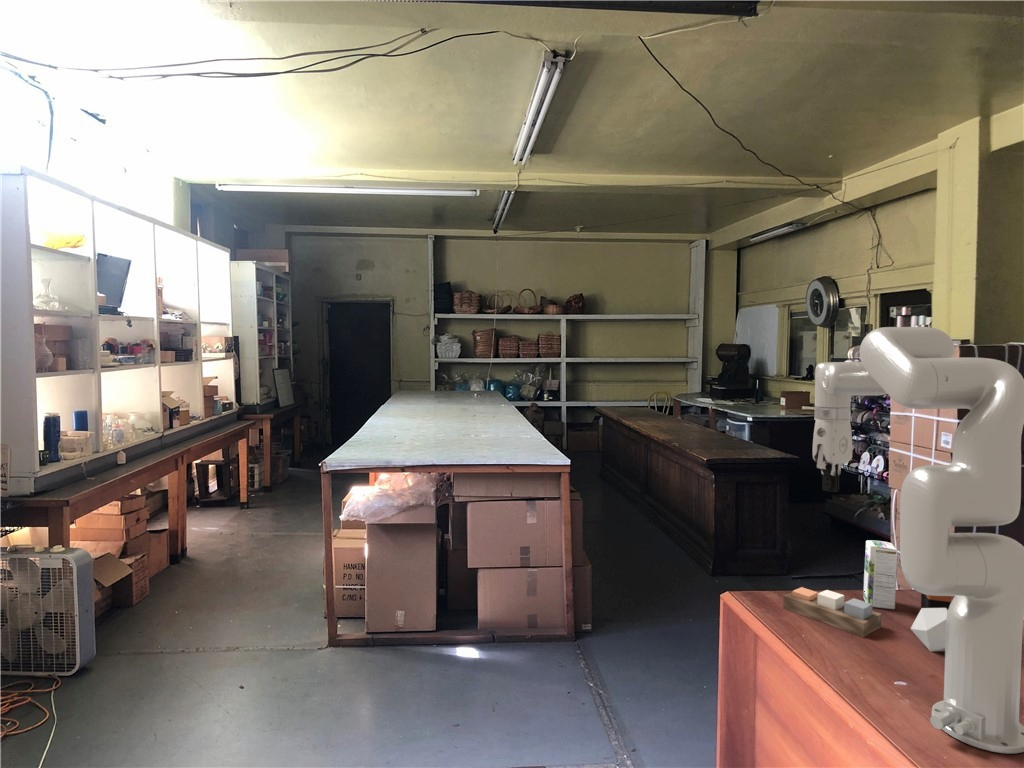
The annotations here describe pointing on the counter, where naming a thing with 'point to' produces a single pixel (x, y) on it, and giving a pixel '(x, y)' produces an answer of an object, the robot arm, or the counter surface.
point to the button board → (832, 616)
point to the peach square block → (805, 594)
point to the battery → (935, 601)
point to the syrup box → (880, 574)
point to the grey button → (858, 609)
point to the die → (931, 628)
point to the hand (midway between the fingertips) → (830, 490)
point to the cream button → (830, 599)
